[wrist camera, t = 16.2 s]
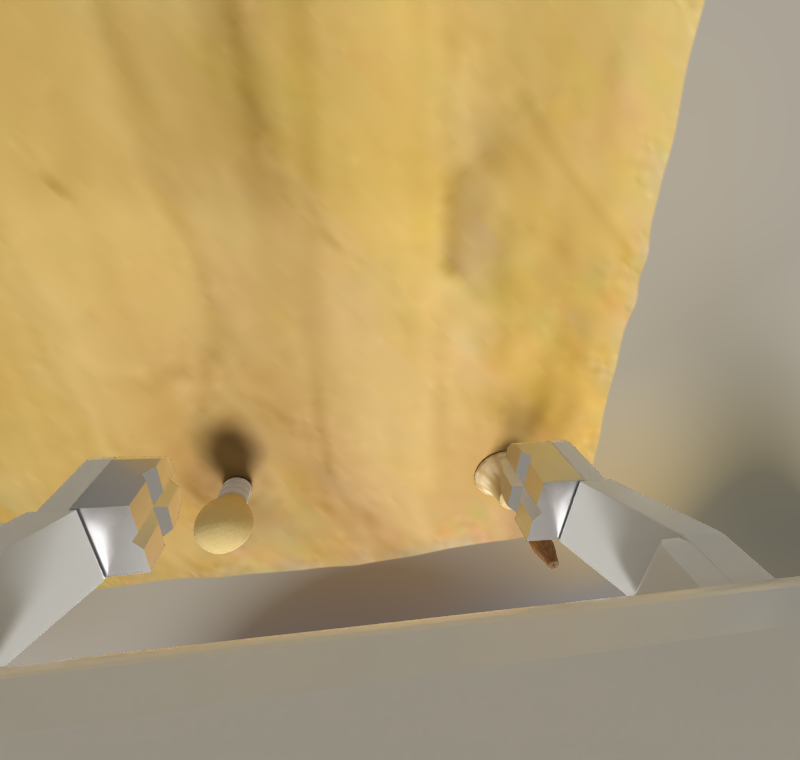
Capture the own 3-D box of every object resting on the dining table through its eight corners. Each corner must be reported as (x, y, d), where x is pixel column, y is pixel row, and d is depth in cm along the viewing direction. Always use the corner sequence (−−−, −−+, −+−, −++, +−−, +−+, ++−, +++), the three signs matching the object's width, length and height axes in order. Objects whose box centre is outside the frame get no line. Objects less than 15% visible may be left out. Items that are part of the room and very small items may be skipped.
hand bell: (536, 468, 58) (600, 556, 43) (497, 502, 60) (546, 596, 45) (503, 441, 54) (561, 526, 40) (463, 478, 56) (504, 571, 42)
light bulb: (203, 479, 50) (173, 540, 41) (244, 459, 49) (223, 516, 40) (233, 509, 53) (211, 572, 44) (272, 490, 52) (258, 550, 43)
